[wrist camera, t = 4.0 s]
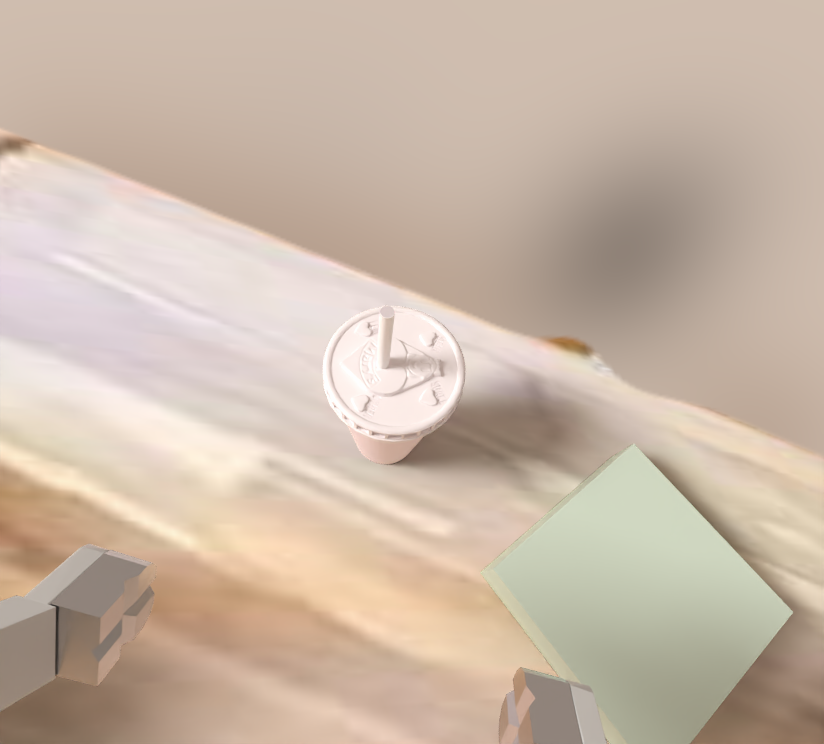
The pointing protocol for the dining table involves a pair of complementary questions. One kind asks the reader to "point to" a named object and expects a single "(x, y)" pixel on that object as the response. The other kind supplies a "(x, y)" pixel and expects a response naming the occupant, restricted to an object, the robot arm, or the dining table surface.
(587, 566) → the pedestal
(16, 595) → the robot arm
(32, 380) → the dining table surface
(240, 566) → the dining table surface
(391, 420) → the smoothie
